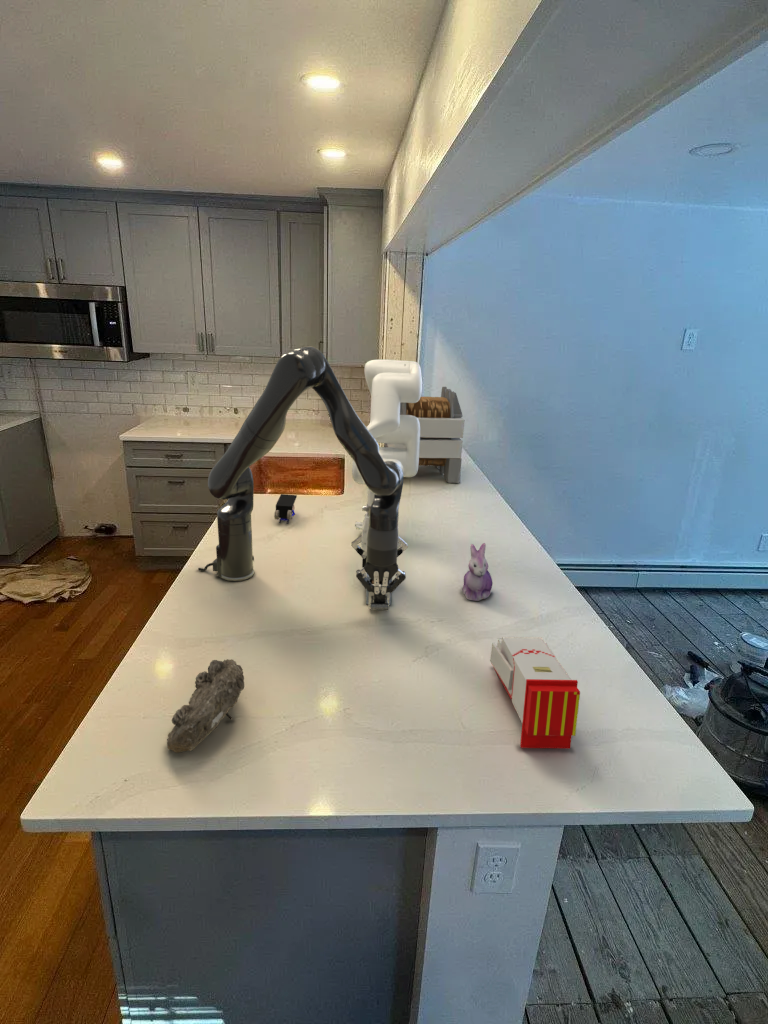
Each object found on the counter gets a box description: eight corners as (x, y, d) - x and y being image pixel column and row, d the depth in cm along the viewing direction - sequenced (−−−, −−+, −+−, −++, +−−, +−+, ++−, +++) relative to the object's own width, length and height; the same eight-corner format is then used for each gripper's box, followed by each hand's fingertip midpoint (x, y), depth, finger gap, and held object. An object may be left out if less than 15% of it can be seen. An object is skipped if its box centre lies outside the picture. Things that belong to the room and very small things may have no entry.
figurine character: (292, 529, 203) (297, 511, 216) (292, 510, 199) (297, 492, 213) (273, 529, 202) (280, 510, 216) (272, 510, 199) (279, 492, 213)
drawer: (389, 620, 143) (390, 597, 140) (368, 620, 142) (369, 597, 140) (387, 582, 162) (388, 561, 160) (368, 581, 162) (369, 561, 160)
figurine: (473, 605, 153) (479, 554, 148) (452, 588, 162) (457, 540, 157) (501, 598, 157) (507, 549, 152) (479, 583, 166) (484, 535, 161)
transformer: (382, 463, 289) (386, 382, 275) (445, 464, 293) (451, 384, 279) (390, 482, 257) (394, 392, 243) (460, 483, 261) (468, 394, 247)
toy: (539, 620, 128) (589, 687, 99) (533, 674, 131) (581, 755, 102) (485, 619, 128) (521, 686, 99) (481, 673, 131) (514, 755, 101)
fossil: (192, 660, 117) (244, 628, 112) (224, 691, 120) (276, 661, 115) (142, 746, 98) (202, 712, 93) (182, 779, 101) (242, 748, 96)
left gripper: (355, 548, 135) (352, 612, 141) (410, 550, 135) (406, 613, 141) (355, 536, 142) (353, 597, 148) (408, 538, 142) (404, 599, 148)
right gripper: (348, 514, 151) (347, 575, 157) (413, 516, 151) (409, 576, 157) (349, 505, 158) (348, 563, 164) (411, 507, 158) (408, 565, 164)
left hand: (379, 605), depth 144 cm, fingers closed
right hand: (378, 569), depth 160 cm, fingers closed on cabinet, 6 cm apart
